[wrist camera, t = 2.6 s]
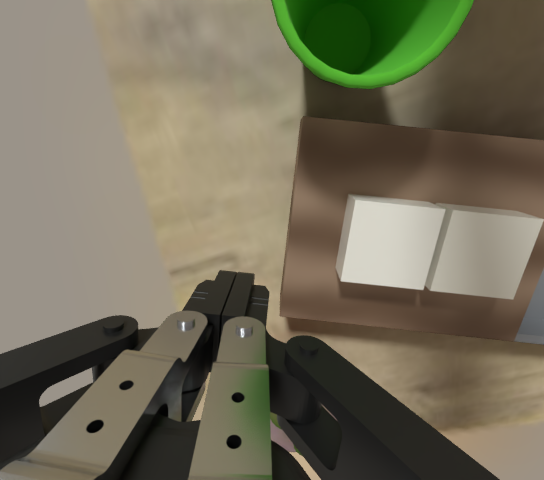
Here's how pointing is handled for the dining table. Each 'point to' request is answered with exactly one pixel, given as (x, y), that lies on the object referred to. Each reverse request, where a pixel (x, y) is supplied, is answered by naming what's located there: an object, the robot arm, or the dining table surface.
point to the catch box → (533, 317)
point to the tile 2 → (482, 251)
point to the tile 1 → (388, 241)
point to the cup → (368, 36)
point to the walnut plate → (410, 186)
